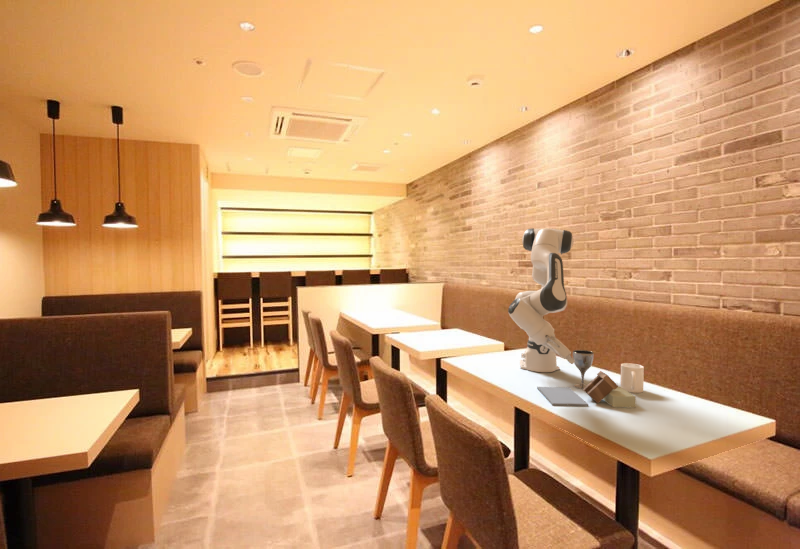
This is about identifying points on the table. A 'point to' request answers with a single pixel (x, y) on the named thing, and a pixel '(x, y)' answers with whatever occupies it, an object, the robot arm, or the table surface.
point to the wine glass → (582, 363)
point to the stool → (600, 387)
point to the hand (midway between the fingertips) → (568, 359)
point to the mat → (562, 396)
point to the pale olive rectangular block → (620, 398)
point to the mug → (632, 377)
